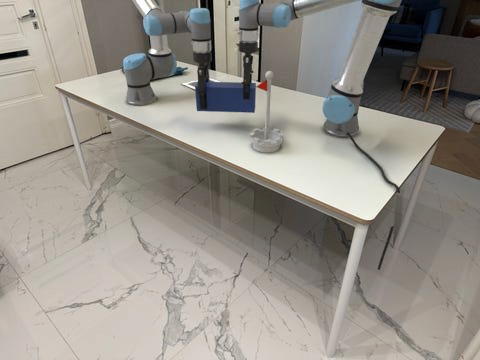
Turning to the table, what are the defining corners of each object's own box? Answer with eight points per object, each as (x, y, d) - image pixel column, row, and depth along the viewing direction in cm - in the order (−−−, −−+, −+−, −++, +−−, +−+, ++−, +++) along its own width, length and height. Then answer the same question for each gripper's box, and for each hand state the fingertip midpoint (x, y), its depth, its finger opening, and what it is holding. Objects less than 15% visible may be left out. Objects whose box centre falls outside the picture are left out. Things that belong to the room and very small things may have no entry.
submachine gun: (173, 61, 239) (192, 66, 223) (173, 67, 241) (193, 72, 225) (127, 70, 221) (144, 76, 204) (128, 76, 223) (146, 83, 206)
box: (255, 106, 152) (255, 82, 146) (254, 112, 146) (255, 88, 140) (199, 104, 154) (198, 81, 148) (196, 111, 147) (195, 86, 142)
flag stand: (273, 136, 144) (277, 64, 128) (288, 150, 134) (294, 73, 118) (245, 141, 141) (245, 68, 124) (257, 156, 130) (260, 77, 114)
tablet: (181, 84, 205) (181, 83, 205) (208, 77, 216) (208, 77, 216) (213, 98, 185) (213, 97, 185) (241, 90, 196) (241, 89, 196)
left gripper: (197, 45, 146) (201, 97, 158) (187, 57, 129) (192, 113, 141) (215, 46, 145) (217, 97, 158) (207, 57, 128) (210, 114, 141)
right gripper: (241, 34, 144) (241, 84, 156) (236, 47, 123) (236, 103, 135) (259, 35, 144) (257, 84, 155) (256, 48, 123) (254, 104, 134)
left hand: (205, 105), depth 150 cm, fingers closed on box, 7 cm apart
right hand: (247, 93), depth 145 cm, fingers open, 13 cm apart
